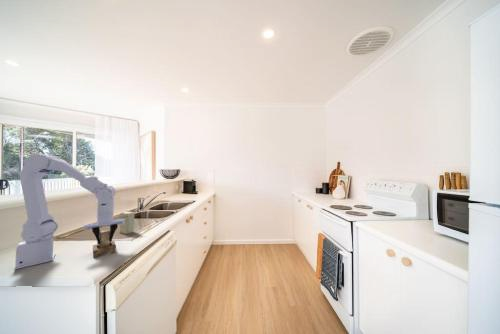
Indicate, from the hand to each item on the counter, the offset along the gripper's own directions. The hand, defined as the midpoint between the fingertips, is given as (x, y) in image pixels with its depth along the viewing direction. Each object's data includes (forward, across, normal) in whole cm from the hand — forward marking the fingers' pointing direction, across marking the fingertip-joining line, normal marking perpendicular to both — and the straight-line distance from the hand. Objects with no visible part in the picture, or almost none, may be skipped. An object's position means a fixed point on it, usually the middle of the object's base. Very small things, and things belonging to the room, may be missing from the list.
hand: (104, 242), depth 79 cm
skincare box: (+5, +12, +24) cm, 27 cm away
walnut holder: (+4, 0, 0) cm, 4 cm away
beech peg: (+3, 0, 0) cm, 3 cm away
